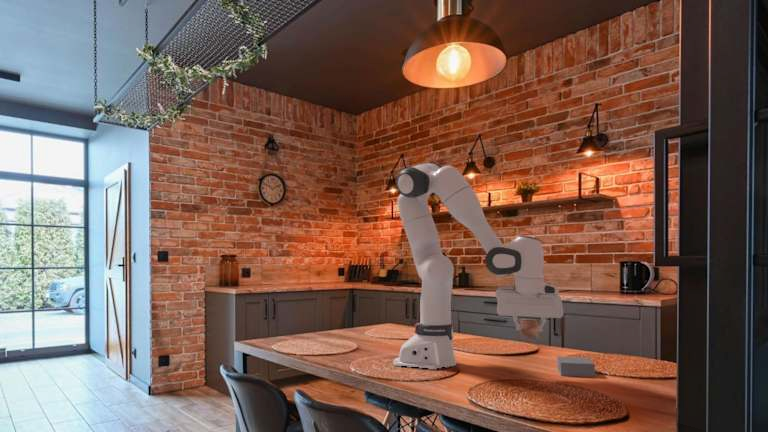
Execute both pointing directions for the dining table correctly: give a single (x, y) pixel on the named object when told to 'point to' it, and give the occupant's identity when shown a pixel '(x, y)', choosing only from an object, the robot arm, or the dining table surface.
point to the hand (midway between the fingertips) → (529, 331)
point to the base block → (576, 366)
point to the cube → (529, 328)
